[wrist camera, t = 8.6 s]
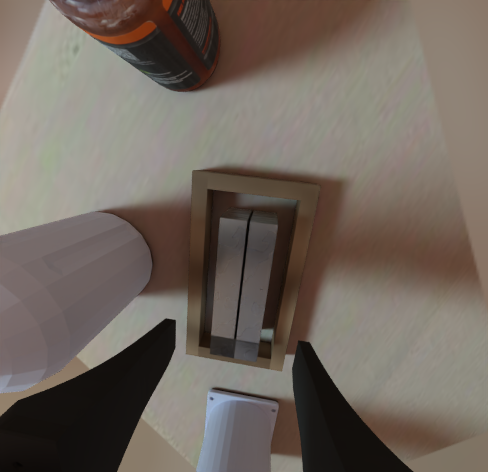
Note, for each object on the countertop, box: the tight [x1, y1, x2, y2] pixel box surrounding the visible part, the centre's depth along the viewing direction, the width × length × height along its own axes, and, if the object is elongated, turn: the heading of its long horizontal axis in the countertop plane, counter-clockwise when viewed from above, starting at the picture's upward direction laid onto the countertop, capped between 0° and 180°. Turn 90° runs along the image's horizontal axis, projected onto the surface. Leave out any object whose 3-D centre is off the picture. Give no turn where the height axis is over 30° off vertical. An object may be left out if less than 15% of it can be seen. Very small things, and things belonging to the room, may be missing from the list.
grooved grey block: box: [210, 207, 278, 362], centre depth 19 cm, size 12×4×4 cm, turn 174°
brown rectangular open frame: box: [186, 170, 321, 371], centre depth 20 cm, size 17×9×2 cm, turn 174°
